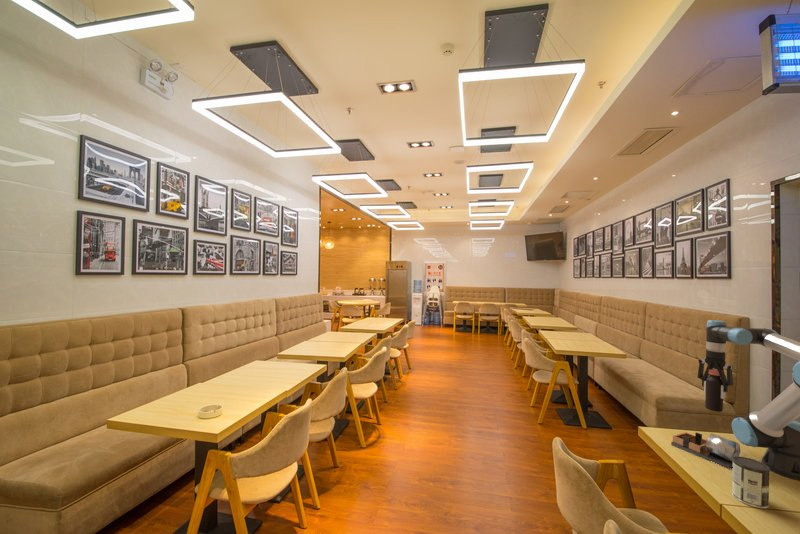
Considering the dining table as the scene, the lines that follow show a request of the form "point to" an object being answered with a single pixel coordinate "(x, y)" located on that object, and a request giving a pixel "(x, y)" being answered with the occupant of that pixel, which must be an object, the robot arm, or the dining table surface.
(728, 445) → the motor mount
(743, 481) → the coffee can
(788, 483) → the dining table surface
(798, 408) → the robot arm
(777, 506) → the dining table surface
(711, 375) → the vinegar
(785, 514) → the dining table surface
